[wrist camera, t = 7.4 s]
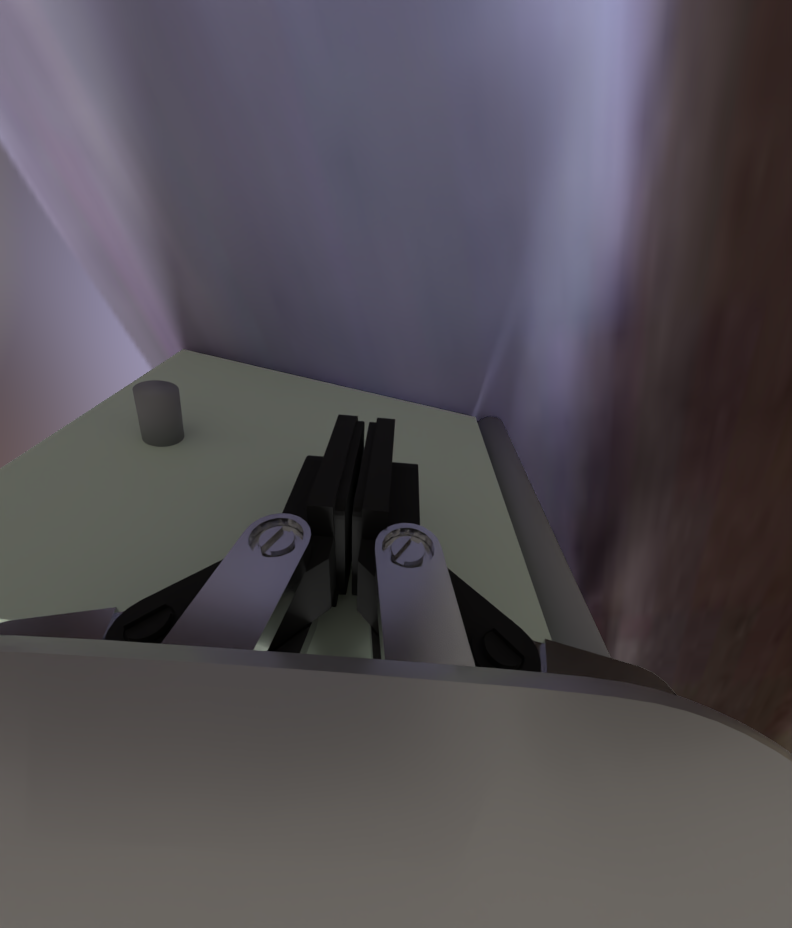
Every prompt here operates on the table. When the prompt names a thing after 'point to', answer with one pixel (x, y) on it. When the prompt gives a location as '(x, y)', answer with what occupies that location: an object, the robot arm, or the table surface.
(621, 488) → the table surface
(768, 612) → the table surface
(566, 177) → the table surface
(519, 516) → the door
